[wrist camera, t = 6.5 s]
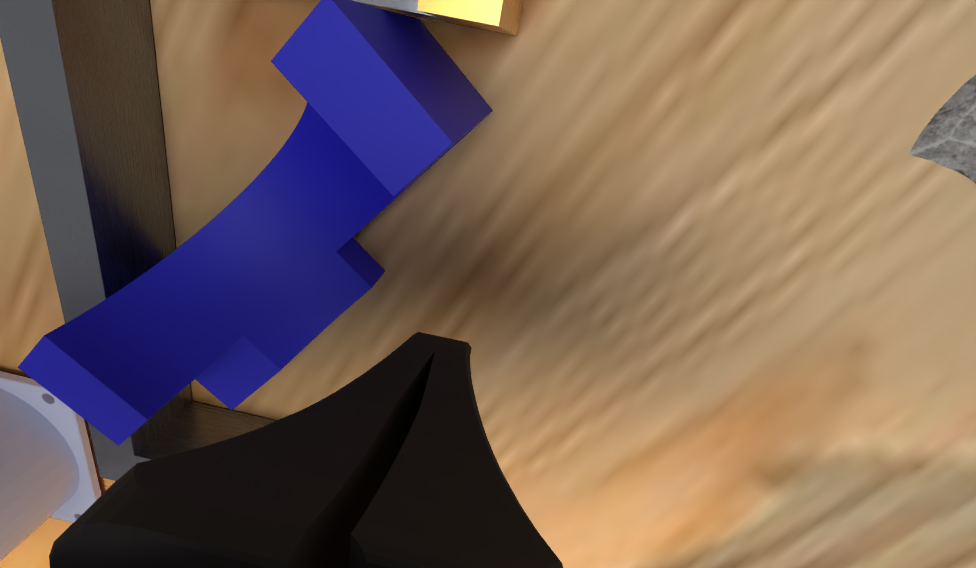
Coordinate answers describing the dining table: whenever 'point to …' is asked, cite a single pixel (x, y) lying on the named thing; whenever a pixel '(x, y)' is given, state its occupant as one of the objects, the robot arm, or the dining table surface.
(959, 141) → the axe
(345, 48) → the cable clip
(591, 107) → the dining table surface
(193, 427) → the keeper cradle
